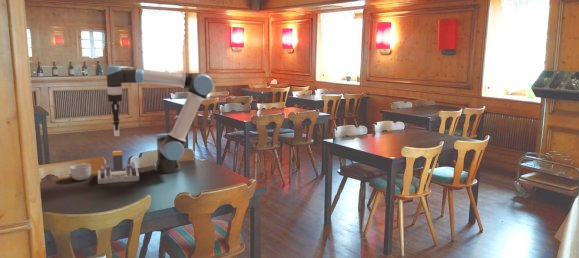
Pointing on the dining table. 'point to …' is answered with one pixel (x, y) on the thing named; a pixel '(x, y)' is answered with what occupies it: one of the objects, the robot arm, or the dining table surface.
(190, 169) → the dining table surface
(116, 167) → the lever
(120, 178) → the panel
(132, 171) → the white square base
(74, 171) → the teacup
